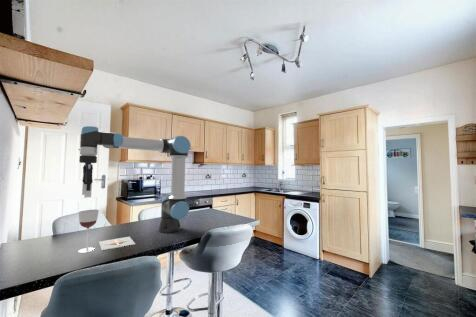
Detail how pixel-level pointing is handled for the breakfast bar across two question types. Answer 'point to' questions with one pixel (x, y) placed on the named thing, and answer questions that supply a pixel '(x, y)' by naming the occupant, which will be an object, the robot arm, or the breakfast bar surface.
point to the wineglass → (87, 224)
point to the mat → (116, 243)
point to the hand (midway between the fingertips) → (86, 196)
